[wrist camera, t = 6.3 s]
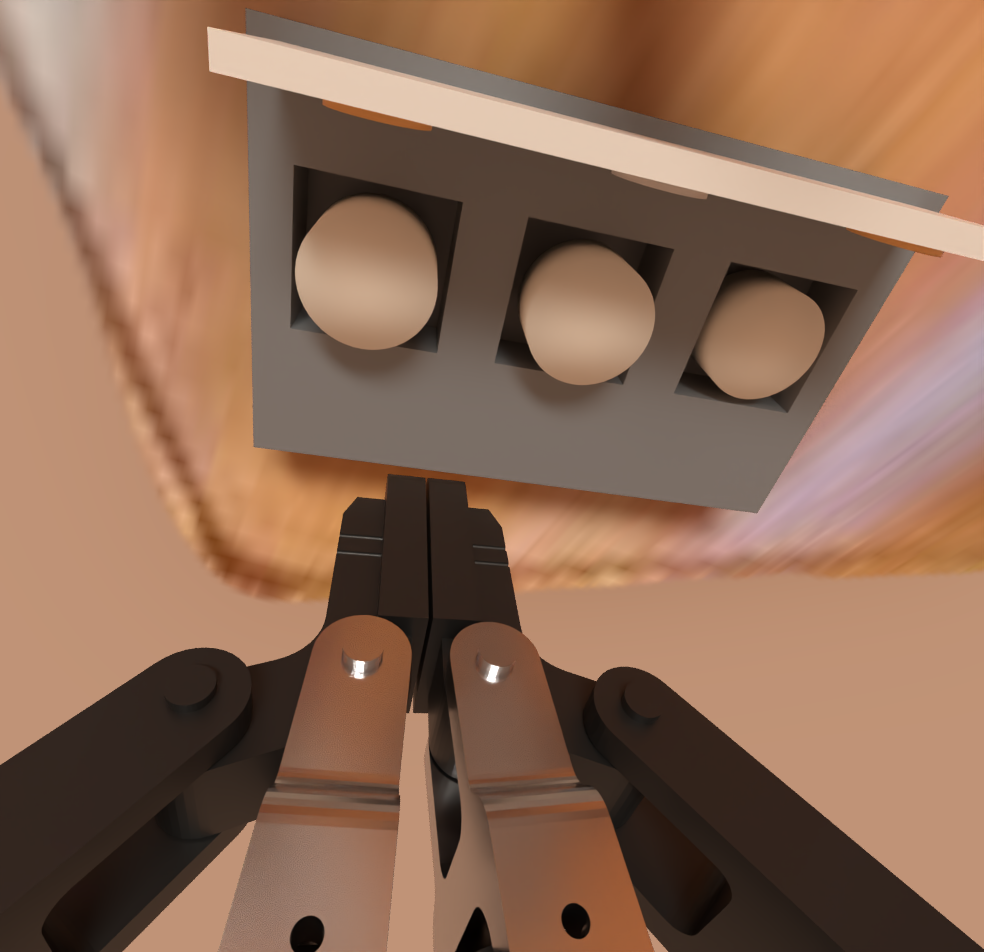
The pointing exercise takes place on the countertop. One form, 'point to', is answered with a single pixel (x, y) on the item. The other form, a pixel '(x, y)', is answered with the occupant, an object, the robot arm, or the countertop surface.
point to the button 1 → (368, 272)
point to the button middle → (585, 312)
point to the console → (519, 242)
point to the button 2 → (758, 335)
